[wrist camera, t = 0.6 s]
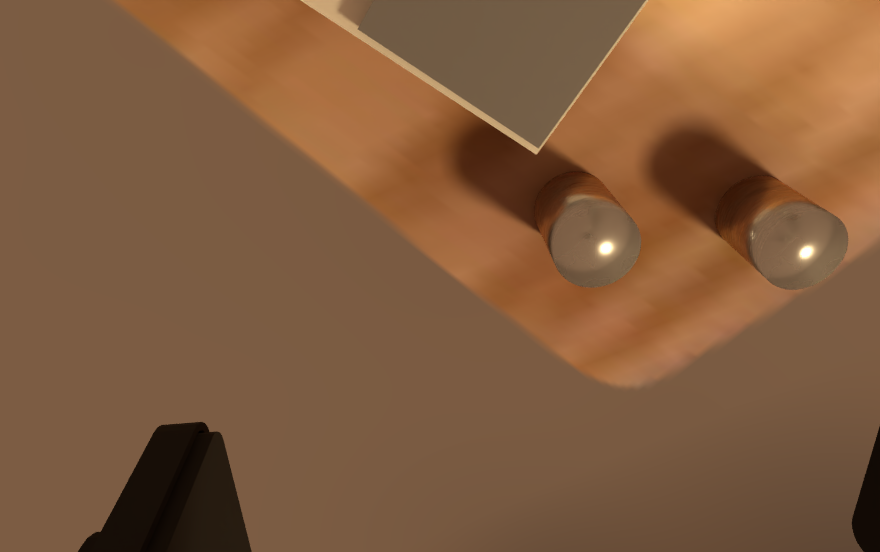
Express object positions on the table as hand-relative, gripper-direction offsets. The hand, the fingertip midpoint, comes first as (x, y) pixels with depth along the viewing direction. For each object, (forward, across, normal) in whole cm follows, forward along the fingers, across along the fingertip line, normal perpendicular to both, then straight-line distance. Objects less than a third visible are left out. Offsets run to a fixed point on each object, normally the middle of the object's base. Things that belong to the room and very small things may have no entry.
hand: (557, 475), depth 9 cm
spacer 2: (+31, -20, +8) cm, 37 cm away
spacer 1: (+31, -8, +8) cm, 33 cm away
